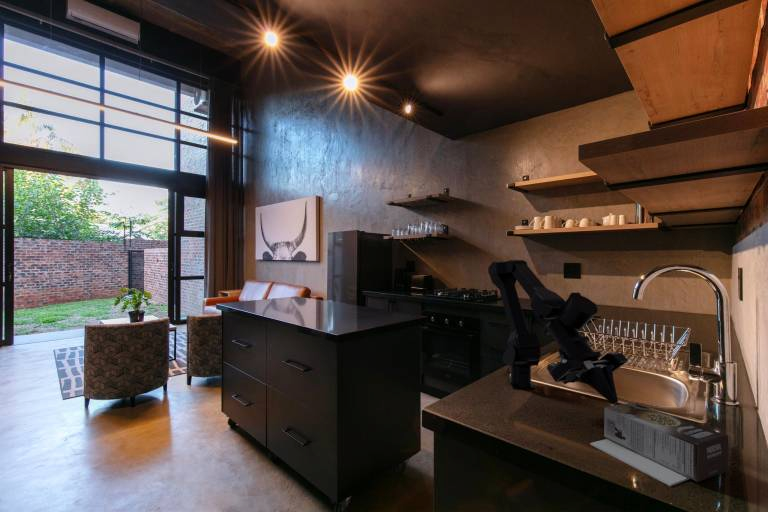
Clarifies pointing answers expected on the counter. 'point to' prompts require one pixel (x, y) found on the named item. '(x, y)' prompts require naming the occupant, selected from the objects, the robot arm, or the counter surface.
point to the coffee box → (668, 440)
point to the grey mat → (640, 462)
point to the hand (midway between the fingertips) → (615, 402)
